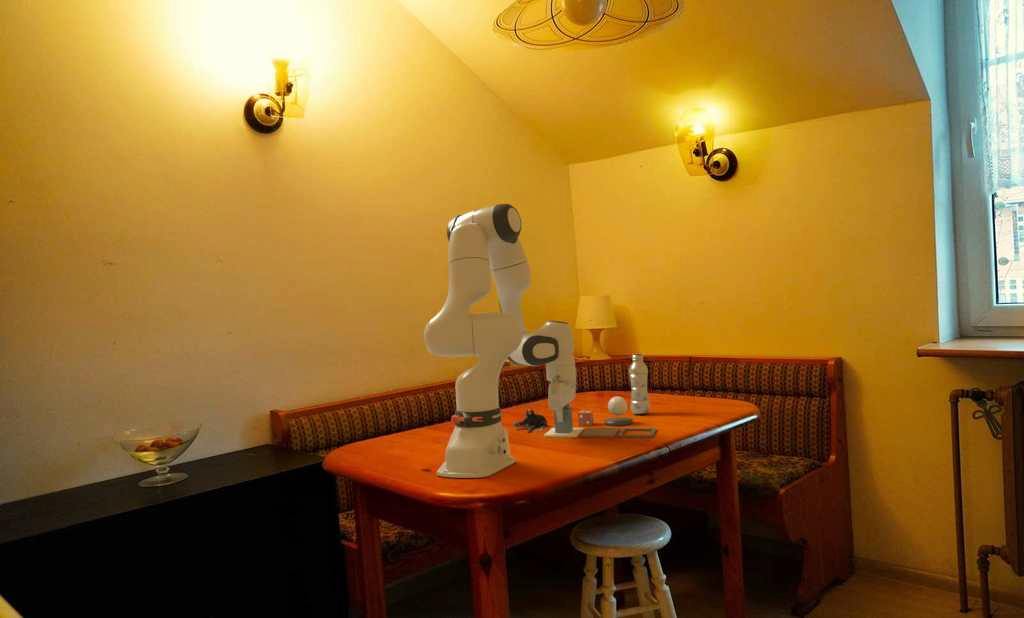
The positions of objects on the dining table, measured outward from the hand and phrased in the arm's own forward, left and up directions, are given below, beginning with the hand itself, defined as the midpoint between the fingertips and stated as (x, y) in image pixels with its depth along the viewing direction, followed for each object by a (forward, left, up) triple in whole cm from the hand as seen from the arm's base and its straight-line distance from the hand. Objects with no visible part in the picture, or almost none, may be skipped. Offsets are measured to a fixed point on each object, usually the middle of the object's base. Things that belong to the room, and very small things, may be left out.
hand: (563, 419), depth 216 cm
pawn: (0, 0, -4) cm, 4 cm away
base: (+15, -14, -4) cm, 21 cm away
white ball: (+15, -14, -2) cm, 21 cm away
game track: (0, -11, -4) cm, 12 cm away
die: (+13, -4, -4) cm, 14 cm away
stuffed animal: (+8, +13, -5) cm, 16 cm away
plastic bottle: (+30, -19, -4) cm, 36 cm away
